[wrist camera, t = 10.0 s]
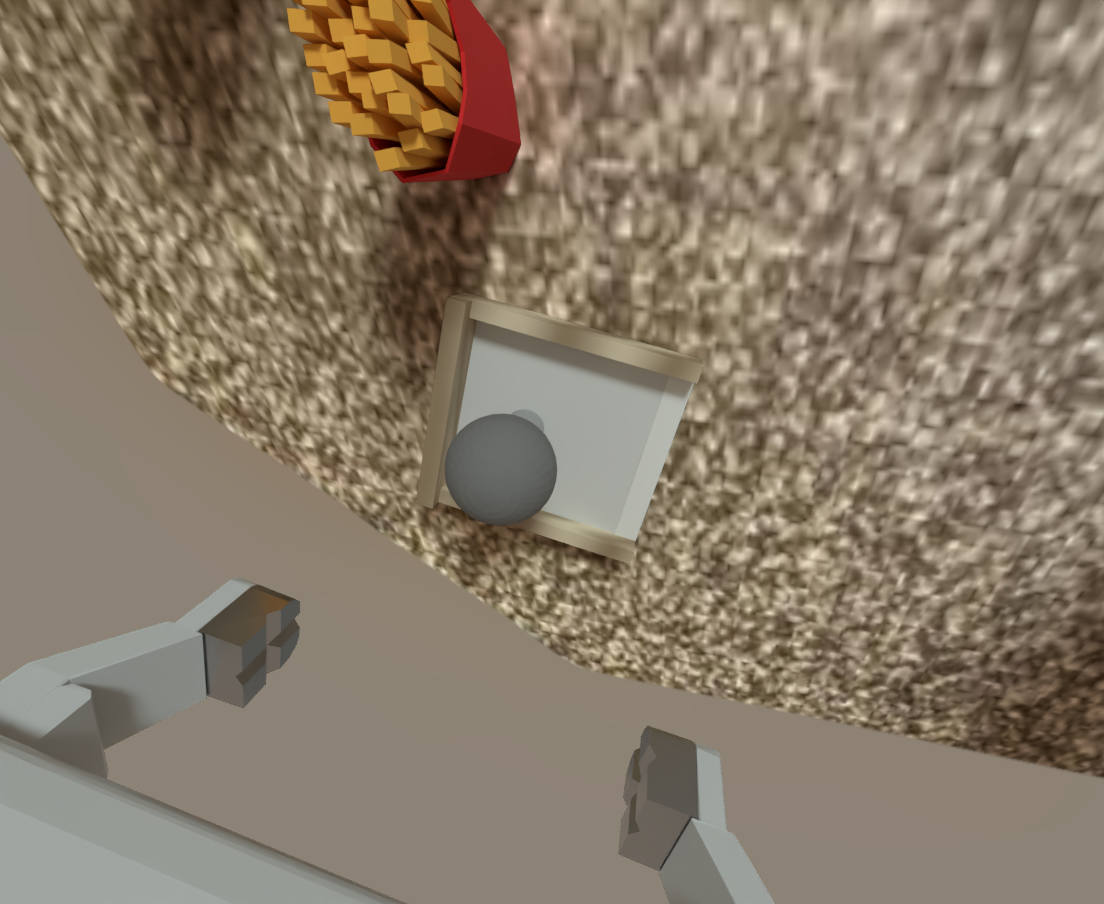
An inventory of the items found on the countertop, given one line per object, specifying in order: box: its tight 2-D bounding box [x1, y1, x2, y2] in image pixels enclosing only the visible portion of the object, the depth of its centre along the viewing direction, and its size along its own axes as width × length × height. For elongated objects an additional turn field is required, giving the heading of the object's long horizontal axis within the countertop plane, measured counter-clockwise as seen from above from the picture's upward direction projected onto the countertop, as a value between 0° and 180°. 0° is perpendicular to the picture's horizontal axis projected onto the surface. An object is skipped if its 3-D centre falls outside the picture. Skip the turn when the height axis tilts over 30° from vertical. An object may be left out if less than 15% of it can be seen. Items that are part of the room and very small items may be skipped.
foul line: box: [615, 376, 694, 541], centre depth 34 cm, size 2×14×1 cm, turn 166°
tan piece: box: [416, 292, 703, 564], centre depth 33 cm, size 15×14×3 cm
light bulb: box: [445, 409, 557, 526], centre depth 30 cm, size 6×6×10 cm
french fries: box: [287, 0, 521, 183], centre depth 22 cm, size 9×4×13 cm, turn 9°
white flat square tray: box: [457, 320, 669, 534], centre depth 34 cm, size 15×14×1 cm
